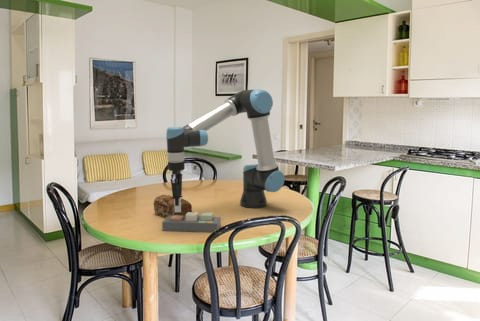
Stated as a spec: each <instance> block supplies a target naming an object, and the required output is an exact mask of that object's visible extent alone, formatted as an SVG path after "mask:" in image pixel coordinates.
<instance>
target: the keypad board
mask: <svg viewBox="0 0 480 321" xmlns="http://www.w3.org/2000/svg"><path fill="white" fill-rule="evenodd" d="M171 217H172V215H168V217H167V218H166V217H165V219H164V220H163V221H162V222H161V226H162V232H163V231H164V232H190V233H193V232H194V233H195V232H197V233H215V232H214V231H215V230H217V229H219V230H220V227H221V225H222V224H221V222H222V221H221V216H213V221H207V222H206V221H201V215H198V218H199V219H198V221H186V216H184V219H183V220H182V221H170V218H171Z"/></svg>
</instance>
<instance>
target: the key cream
mask: <svg viewBox="0 0 480 321" xmlns="http://www.w3.org/2000/svg"><path fill="white" fill-rule="evenodd" d="M185 216H186V221H198V219H199V218H198V216H199V211H198V212H196V211H192V212H188V213H187V214H186V215H185Z"/></svg>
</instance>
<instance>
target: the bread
mask: <svg viewBox="0 0 480 321" xmlns="http://www.w3.org/2000/svg"><path fill="white" fill-rule="evenodd" d="M172 197H173V195H169V194H167V195H166V194H162V195H159V196H157V197H155V198H154V200H153V210H154V214H155V215H158V216H160V217H164V218H165V219H166V218H167V217H168V215H172V216H173V215H179V216H185V215H186V214H187V213H188V212H193V207H192V204H191V202H189V201H188V200H186V199H184V198H183V197H180V198H181V212H175V209H174V199H172Z"/></svg>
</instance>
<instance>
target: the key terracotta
mask: <svg viewBox="0 0 480 321" xmlns="http://www.w3.org/2000/svg"><path fill="white" fill-rule="evenodd" d="M183 219H184V216H179V215H173V216H172V217H171V218H170V221H182V220H183Z"/></svg>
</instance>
